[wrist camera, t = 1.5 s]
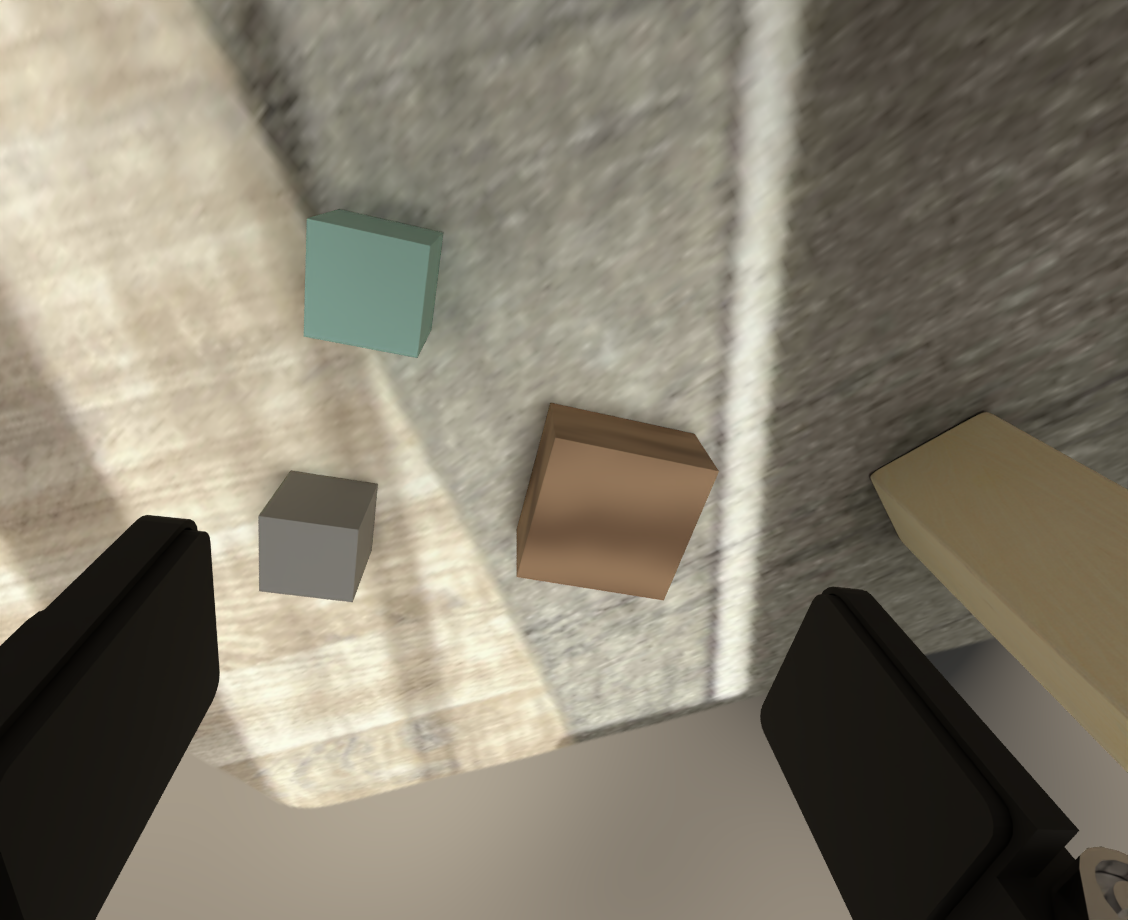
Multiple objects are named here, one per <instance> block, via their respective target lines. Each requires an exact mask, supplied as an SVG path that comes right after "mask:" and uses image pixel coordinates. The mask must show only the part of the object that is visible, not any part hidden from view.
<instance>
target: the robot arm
mask: <svg viewBox="0 0 1128 920" xmlns="http://www.w3.org/2000/svg"><path fill="white" fill-rule="evenodd" d="M219 674H220V671H219V657H218V643H217V629H216V615H215V600H214V586H213V572H212V558H211V544H210V537H209V535H208V533H207V532H204V531H198V530H197V526H196V524H195V522H194V521H192V520H191V519H181V518H171V517H162V516H152V515H145V516H142V517H140V518H139V519H138V520H136V521H135V522H134V523H133V524H132V525H131V526H130V527H129V528H128V529H127V530H126V531H125V532H124V533H123V534H122V535H121V536H120V537H119V538H118V539H117V540H116V541H115V542H114V543H113V544H112V545H111V546H110V547H109V548H107V549H106V550H105V551H104V552H103V553H102V554H101V555H100V556H99V557H98V558H97V559H96V560H95V561H94V562H93V563H92V564H91V565H90V566H89V567H88V568H87V569H86V570H85V571H84V572H83V573H82V574H81V575H80V576H79V577H78V578H77V579H75V580H74V581H73V582H72V583H71V584H70V585H69V586H68V587H67V588H66V589H65V590H64V591H63V592H62V593H61V594H60V595H59V596H58V597H57V598H56V599H55V600H54V601H53V602H52V603H51V604H50V605H49V606H48V607H47V608H46V609H45V610H42V611H39V612H38V613H36V614H35V615H34V616H32V617H31V618H30V619H28V620H27V621H26V622H25V623H24V624H23V625H22V626H21V627H20V628H18V629H17V630H16V631H15V632H14V633H13V634H12V635H11V636H10V637H9V638H8V639H7V640H6V641H5V642H4V643H3V644H2V645H1V646H0V920H95V919H96V917H97V915H98V913H99V911H100V910H101V908H102V906H103V904H104V902H105V900H106V898H107V897H108V895H109V893H110V891H111V889H112V887H113V885H114V884H115V882H116V880H117V878H118V876H119V874H120V872H121V871H122V869H123V867H124V865H125V863H126V861H127V859H128V858H129V856H130V854H131V852H132V850H133V848H134V846H135V844H136V842H137V841H138V839H139V837H140V835H141V833H142V831H143V830H144V828H145V826H146V824H147V822H148V820H149V818H150V817H151V815H152V813H153V811H154V809H155V807H156V805H157V804H158V802H159V800H160V798H161V796H162V794H163V792H164V790H165V788H166V787H167V785H168V783H169V781H170V779H171V777H172V776H173V774H174V772H175V770H176V768H177V766H178V764H179V763H180V761H181V758H182V757H183V755H184V753H185V751H186V750H187V748H188V746H189V744H190V742H191V740H192V738H193V737H194V735H195V733H196V731H197V729H198V727H199V725H200V723H201V722H202V720H203V718H204V716H205V714H206V712H207V710H208V709H209V707H210V705H211V703H212V701H213V699H214V697H215V694H216V691H217V687H218V683H219ZM760 717H761V724H762V729H763V731H764V734H765V736H766V738H767V740H768V742H769V744H770V746H771V748H772V750H773V752H774V755H775V757H776V759H777V761H778V763H779V765H780V767H781V769H782V771H783V773H784V776H785V778H786V780H787V782H788V784H789V786H790V788H791V790H792V792H793V795H794V797H795V799H796V801H797V803H798V805H799V807H800V809H801V811H802V814H803V816H804V818H805V820H806V822H807V824H808V826H809V828H810V830H811V833H812V835H813V836H814V839H815V841H816V843H817V845H818V847H819V849H820V851H821V854H822V856H823V858H824V860H825V862H826V864H827V866H828V868H829V870H830V873H831V875H832V877H833V879H834V881H835V883H836V885H837V887H838V889H839V891H840V894H841V895H842V898H843V900H844V902H845V904H846V906H847V908H848V910H849V912H850V915H851V917H852V919H853V920H1128V855H1126V854H1124V853H1122V852H1120V851H1117V850H1113V849H1108V848H1104V847H1093V848H1087V849H1086V850H1085V851H1084V852H1083V853H1082V854H1081V855H1080V856H1079V857H1078V858H1077V859H1076V860H1075V859H1074V858H1073V857H1072V856H1071V855H1070V853H1069V852H1068V851H1067V850H1066V848H1065V845H1066V844H1067V843H1068V842H1069V841H1070V840H1071V839H1072V838H1073V837H1074V836H1075V835H1076V834H1077V832H1078V831H1079V830H1078V829H1077V827H1076V826H1075V825H1074V824H1073V823H1072V822H1071V821H1070V820H1069V818H1068V817H1067V816H1066V815H1065V814H1064V813H1063V811H1062V810H1061V809H1060V808H1059V807H1058V806H1057V805H1056V804H1055V802H1054V801H1053V800H1052V799H1051V798H1050V797H1049V796H1048V794H1047V793H1046V792H1045V791H1044V790H1043V789H1042V788H1041V787H1040V785H1039V784H1038V783H1037V782H1036V781H1035V780H1034V779H1033V778H1032V776H1031V775H1030V774H1029V773H1028V772H1027V771H1026V770H1025V769H1024V767H1023V766H1022V765H1021V764H1020V763H1019V762H1018V761H1017V759H1016V758H1015V757H1014V756H1013V755H1012V754H1011V753H1010V752H1009V750H1008V749H1007V748H1006V747H1005V746H1004V745H1003V743H1001V741H1000V740H999V739H998V738H997V737H996V736H995V734H994V733H993V732H992V731H991V730H990V729H989V728H988V726H987V725H986V724H985V723H984V722H983V721H982V720H981V719H980V718H979V716H978V715H977V714H976V713H975V712H974V711H973V710H972V708H971V707H970V706H969V705H968V704H967V703H966V702H965V701H964V699H963V698H962V697H961V696H960V695H959V694H958V693H957V691H956V690H955V689H954V688H953V687H952V686H951V685H950V684H949V682H948V681H947V680H946V679H945V678H944V677H943V676H942V674H941V673H940V672H939V671H938V670H937V669H936V668H935V667H934V666H933V664H932V663H931V662H930V661H929V660H928V659H927V657H926V656H925V655H924V654H923V653H922V652H921V651H920V649H919V648H918V647H917V646H916V645H915V644H914V643H913V642H912V640H911V639H910V638H909V637H908V636H907V635H906V634H905V632H904V631H903V630H902V629H901V628H900V627H899V626H898V625H897V623H896V622H895V621H894V620H893V619H892V618H891V617H890V615H889V614H888V613H887V612H886V611H885V610H884V609H883V608H882V606H881V605H880V604H879V603H878V602H877V601H876V600H875V598H874V597H873V596H872V595H871V594H869V593H868V592H867V591H864V590H860V589H851V588H841V587H829V588H827V589H826V590H824V591H823V593H822V594H821V595H817V596H816V597H815V598H814V600H813V601H812V603H811V605H810V607H809V609H808V611H807V613H806V616H805V618H804V620H803V622H802V624H801V626H800V628H799V630H798V632H797V634H796V636H795V639H794V641H793V643H792V645H791V647H790V649H789V651H788V653H787V655H786V657H785V659H784V662H783V664H782V666H781V668H780V670H779V672H778V674H777V676H776V678H775V680H774V682H773V685H772V687H771V689H770V691H769V693H768V695H767V697H766V699H765V701H764V703H763V705H762V709H761V715H760Z"/></svg>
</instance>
